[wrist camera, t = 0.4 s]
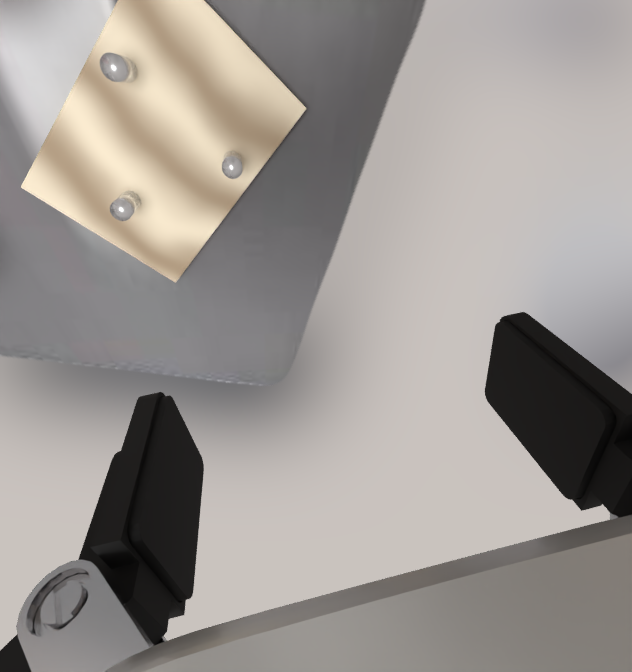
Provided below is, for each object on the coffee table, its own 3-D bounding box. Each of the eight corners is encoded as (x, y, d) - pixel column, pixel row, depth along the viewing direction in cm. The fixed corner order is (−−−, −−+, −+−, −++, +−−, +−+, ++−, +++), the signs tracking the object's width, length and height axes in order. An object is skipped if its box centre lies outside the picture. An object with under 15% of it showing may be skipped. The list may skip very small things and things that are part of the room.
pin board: (152, -52, 26) (136, -78, 22) (303, 107, 32) (313, 110, 28) (28, 183, 32) (-2, 197, 28) (177, 276, 39) (170, 298, 35)
